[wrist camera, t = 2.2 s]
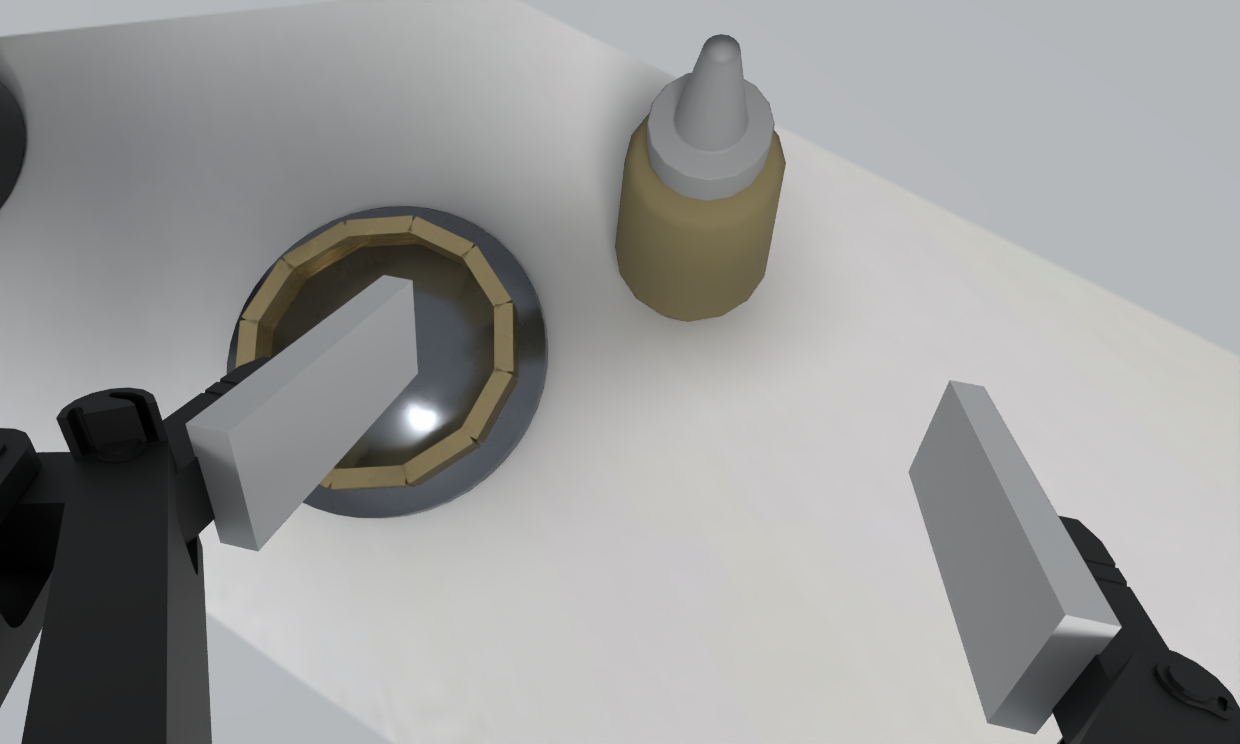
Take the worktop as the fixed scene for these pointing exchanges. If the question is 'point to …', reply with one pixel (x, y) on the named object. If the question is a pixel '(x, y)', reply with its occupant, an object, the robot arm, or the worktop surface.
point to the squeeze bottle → (700, 191)
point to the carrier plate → (446, 352)
